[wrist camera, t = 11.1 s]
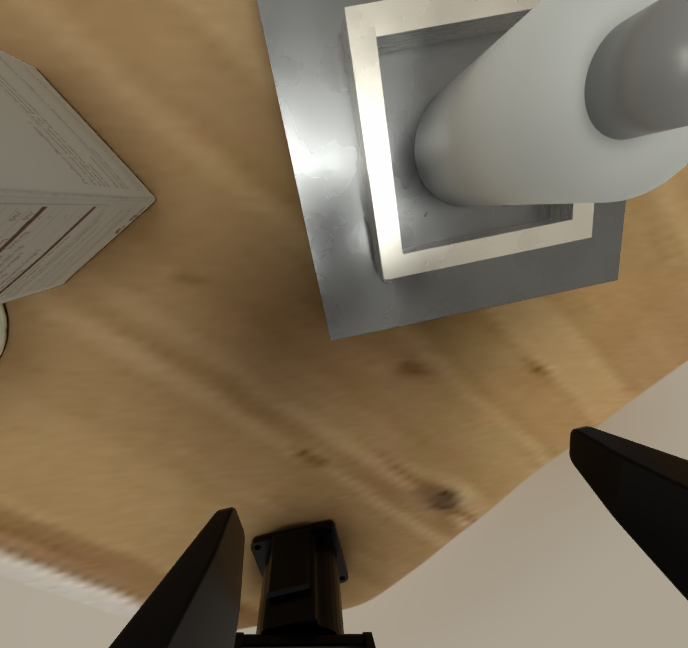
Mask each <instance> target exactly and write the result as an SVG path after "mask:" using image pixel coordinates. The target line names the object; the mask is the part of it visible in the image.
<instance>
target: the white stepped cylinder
mask: <svg viewBox="0 0 688 648" xmlns="http://www.w3.org/2000/svg"><path fill="white" fill-rule="evenodd" d="M414 150H415V161H416V166H417V169H418V173H419V175H420V177H421V180H422V181H423V183H424V185H425V186H426V187H427V189H428V190H429V191H430V192H431V193H432V194H433V195H434V196H435V197H437V198H438V199H440V200H441V201H443V202H445V203H448V204H451V205H455V206H495V205H532V204H569V203H607V202H617V201H624V200H627V199H631V198H635V197H637V196H640V195H642V194H645V193H647V192H649V191H651V190H653V189H655V188H656V187H658V186H660V185H662V184H663V183H664V182H666V181H667V180H669V179H670V178H671V177H673V176H674V175H675V174H677V173H678V172H679V171H680V170H681V169H682V168H683V167H684V166H686V165H687V164H688V0H542V1H541V2H540V3H538V4H537V5H536V6H535V7H534V8H533V9H532V10H531V11H530V12H528V13H527V14H526V15H525V16H524V17H523V18H522V19H521V20H520V21H518V22H517V23H516V24H515V25H514V26H513V27H512V28H511V29H509V30H508V31H507V32H506V33H505V34H504V35H503V36H502V37H501V38H499V39H498V40H497V41H496V42H495V43H494V44H493V45H492V46H491V47H489V48H488V49H487V50H486V51H485V52H484V53H483V54H482V55H481V56H479V57H478V58H477V59H476V60H475V61H474V62H473V63H472V64H471V65H469V66H468V67H467V68H466V69H465V70H464V71H463V72H462V73H461V74H459V75H458V76H457V77H456V78H455V79H454V80H453V81H452V82H451V83H449V84H448V85H447V86H446V87H445V88H444V89H443V90H442V91H441V92H439V93H438V94H437V95H436V96H435V97H434V99H433V100H432V101H431V102H430V104H429V105H428V106H427V108H426V110H425V111H424V113H423V115H422V117H421V120H420V122H419V125H418V128H417V132H416V137H415V148H414Z"/></svg>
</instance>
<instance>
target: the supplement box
mask: <svg viewBox="0 0 688 648" xmlns="http://www.w3.org/2000/svg"><path fill="white" fill-rule="evenodd" d="M154 201H155V197H154V196H153V195H152V194H151V193H150V192H149V190H148V189H147V188H146V187H145V186H144V185H143V184H142V183H141V182H140V180H139V179H138V178H137V177H136V176H135V175H134V174H133V173H132V172H131V171H130V169H129V168H128V167H127V166H126V165H125V164H124V163H123V162H122V161H121V160H120V159H119V158H118V157H117V155H116V154H115V153H114V152H113V151H112V150H111V149H110V148H109V147H108V146H107V145H106V144H105V143H104V141H103V140H102V139H101V138H100V137H99V136H98V135H97V134H96V133H95V132H94V131H93V130H92V129H91V127H90V126H89V125H88V124H87V123H86V122H85V121H84V120H83V119H82V118H81V117H80V116H79V115H78V114H77V112H76V111H75V110H74V109H73V108H72V107H71V106H70V105H69V104H68V103H67V102H66V101H65V100H64V99H63V97H62V96H61V95H60V94H59V93H58V92H57V91H56V90H55V89H54V88H53V87H52V86H51V85H50V84H49V82H48V81H47V80H46V79H45V78H44V77H43V76H42V75H41V74H40V73H39V72H38V70H37V69H36V68H35V67H34V66H32V65H29V64H27V63H25V62H23V61H21V60H19V59H17V58H15V57H13V56H11V55H9V54H7V53H6V52H4V51H2V50H0V304H2V303H5V302H8V301H12V300H15V299H18V298H21V297H25V296H28V295H31V294H35V293H38V292H42V291H45V290H48V289H51V288H54V287H57V286H60V285H62V284H64V283H65V282H66V281H67V280H68V279H69V278H70V277H71V276H72V275H73V274H74V273H76V272H77V271H78V270H79V269H80V268H81V267H82V266H83V265H84V264H86V263H87V262H88V261H89V260H90V259H91V258H92V257H93V256H94V255H95V254H97V253H98V252H99V251H100V250H101V249H102V248H104V247H105V246H106V245H107V244H108V243H109V242H110V241H111V240H112V239H114V238H115V237H116V236H117V235H118V234H119V233H120V232H121V231H122V230H124V229H125V228H126V227H127V226H128V225H129V224H130V223H131V222H132V221H133V220H135V219H136V218H137V217H138V216H139V215H140V214H141V213H142V212H143V211H145V210H146V209H147V208H148V207H149V206H150V205H151V204H152V203H153V202H154Z"/></svg>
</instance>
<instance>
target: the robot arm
mask: <svg viewBox="0 0 688 648" xmlns="http://www.w3.org/2000/svg"><path fill="white" fill-rule="evenodd" d="M569 452H570V453H569V454H570V458H571V461H572V463H573V464H574V466H575V467H576V468H577V470H578V471H579V472H580V474H581V475H582V476H583V478H584V479H585V480H586V481H587V483H588V484H589V485H590V487H591V488H592V489H593V491H594V492H595V493H596V495H597V496H598V497H599V499H600V500H601V501H602V502H603V504H604V505H605V507H606V508H607V509H608V510H609V512H610V513H611V514H612V516H613V517H614V518H615V519H616V520H617V522H618V523H619V524H620V525H621V526H622V527H623V529H624V530H625V531H626V532H627V533H628V534H629V535H630V536H631V537H632V539H633V540H634V541H635V542H636V543H637V544H638V545H639V547H641V549H642V550H643V551H644V552H645V553H646V554H647V556H648V557H649V558H650V559H651V560H652V561H653V562H654V563H655V564H656V566H657V567H658V568H659V569H660V570H661V571H662V572H663V573H664V574H665V576H666V577H667V578H668V579H669V580H670V581H671V582H672V583H673V585H674V586H675V587H676V588H677V589H678V590H679V591H680V592H681V594H682V595H683V596H684V597H685V598H686V599H687V600H688V460H685V459H682V458H679V457H677V456H674V455H671V454H668V453H665V452H662V451H659V450H656V449H653V448H650V447H647V446H645V445H642V444H639V443H636V442H633V441H630V440H627V439H624V438H621V437H618V436H615V435H612V434H609V433H607V432H604V431H601V430H598V429H595V428H592V427H588V426H585V427H581V428H576V429H573V430H572V431H571V434H570V451H569ZM328 528H329V529H328ZM244 541H245V537H244V530H243V527H242V525H241V522H240V519H239V517H238V514H237V511H236V509H235V508H233V507H230V508H226V509H222V510H219V511H217V512H216V513H215V514H214V515H213V517H212V518H211V519H210V520H209V522H208V523H207V524H206V525H205V527H204V528H203V529H202V530H201V532H200V533H199V534H198V535H197V537H196V538H195V539H194V541H193V542H192V543H191V544H190V546H189V547H188V548H187V549H186V551H185V552H184V553H183V554H182V556H181V557H180V558H179V560H178V561H177V562H176V563H175V565H174V566H173V567H172V568H171V570H170V571H169V572H168V573H167V575H166V576H165V577H164V578H163V580H162V581H161V582H160V584H159V585H158V586H157V587H156V589H155V590H154V591H153V592H152V594H151V595H150V596H149V597H148V599H147V600H146V601H145V602H144V604H143V605H142V606H141V608H140V609H139V610H138V611H137V613H136V614H135V615H134V616H133V618H132V619H131V620H130V621H129V623H128V624H127V625H126V627H125V628H124V629H123V630H122V632H121V633H120V634H119V635H118V637H117V638H116V639H115V640H114V642H113V643H112V644H111V645H110V647H109V648H376V647H375V643H374V640H373V636H372V633H371V632H363V634H344V630H343V617H342V606H341V594H340V583H343V582H345V581H347V580H348V572H347V568H346V564H345V561H344V557H343V553H342V549H341V546H340V542H339V538H338V535H337V531H336V527H335V524H334V523H333V522H331V521H327V522H323V523H319V524H314V525H310V526H306V527H302V528H297V529H293V530H289V531H284V532H280V533H276V534H272V535H267V536H263V537H259V538H255V539H254V540H253V541H252V544H251V550H252V552H253V555H254V557H255V560H256V562H257V565H258V567H259V570H260V572H261V575H262V577H263V582H262V590H261V598H260V607H259V615H258V623H257V631H256V634H244V633H241V632H236V631H237V625H238V618H239V610H240V599H241V585H242V570H243V556H244Z"/></svg>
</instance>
